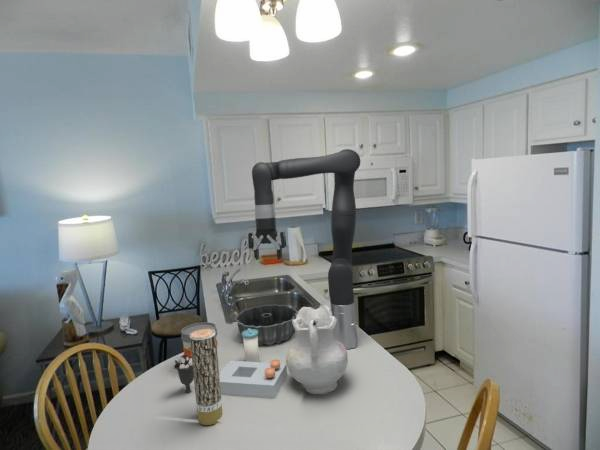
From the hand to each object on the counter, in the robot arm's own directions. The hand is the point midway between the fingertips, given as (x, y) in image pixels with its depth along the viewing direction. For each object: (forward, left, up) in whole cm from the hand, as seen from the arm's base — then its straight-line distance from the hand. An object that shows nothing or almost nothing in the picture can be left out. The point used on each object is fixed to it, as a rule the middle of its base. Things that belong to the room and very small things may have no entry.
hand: (268, 259), depth 148 cm
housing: (0, +27, -36) cm, 45 cm away
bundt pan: (+7, -13, -36) cm, 39 cm away
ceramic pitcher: (-22, +24, -36) cm, 49 cm away
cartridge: (+4, +14, -36) cm, 39 cm away
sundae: (+18, +34, -36) cm, 53 cm away
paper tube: (+5, +45, -36) cm, 58 cm away
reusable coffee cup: (+22, +17, -36) cm, 46 cm away
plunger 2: (-8, +24, -33) cm, 42 cm away
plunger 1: (-8, +30, -33) cm, 45 cm away
